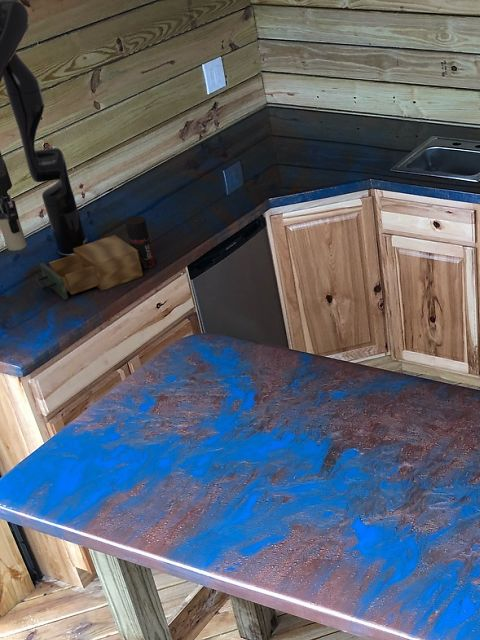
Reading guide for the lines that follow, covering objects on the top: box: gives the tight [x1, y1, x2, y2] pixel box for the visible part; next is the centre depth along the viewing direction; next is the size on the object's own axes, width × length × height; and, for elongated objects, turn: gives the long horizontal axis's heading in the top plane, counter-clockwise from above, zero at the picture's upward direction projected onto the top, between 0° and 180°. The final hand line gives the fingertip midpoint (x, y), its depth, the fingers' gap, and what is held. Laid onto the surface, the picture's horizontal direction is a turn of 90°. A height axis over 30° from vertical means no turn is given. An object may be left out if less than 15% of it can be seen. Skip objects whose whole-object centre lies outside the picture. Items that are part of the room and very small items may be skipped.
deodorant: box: [124, 216, 156, 270], centre depth 284 cm, size 6×6×15 cm
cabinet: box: [73, 234, 144, 291], centre depth 281 cm, size 14×15×9 cm
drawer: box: [31, 253, 99, 300], centre depth 273 cm, size 17×14×7 cm
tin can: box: [0, 213, 28, 252], centre depth 266 cm, size 6×6×10 cm
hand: (11, 229), depth 266 cm, fingers closed on tin can, 5 cm apart
